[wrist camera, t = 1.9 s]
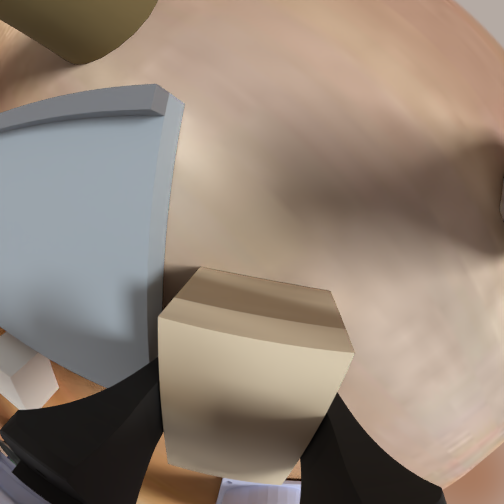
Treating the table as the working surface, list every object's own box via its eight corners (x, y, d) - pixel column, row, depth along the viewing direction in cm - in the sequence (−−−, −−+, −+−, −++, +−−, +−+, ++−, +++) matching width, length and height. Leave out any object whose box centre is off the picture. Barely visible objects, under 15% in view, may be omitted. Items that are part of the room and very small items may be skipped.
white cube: (59, 387, 14) (31, 418, 10) (27, 366, 14) (-1, 392, 10) (46, 346, 13) (10, 377, 9) (14, 326, 13) (-20, 350, 9)
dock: (163, 386, 12) (145, 419, 10) (3, 311, 13) (-18, 325, 10) (184, 104, 9) (156, 84, 6) (-4, 126, 9) (-32, 126, 7)
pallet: (283, 423, 12) (281, 485, 8) (190, 406, 12) (168, 463, 9) (330, 291, 10) (355, 353, 6) (200, 266, 10) (157, 316, 6)
